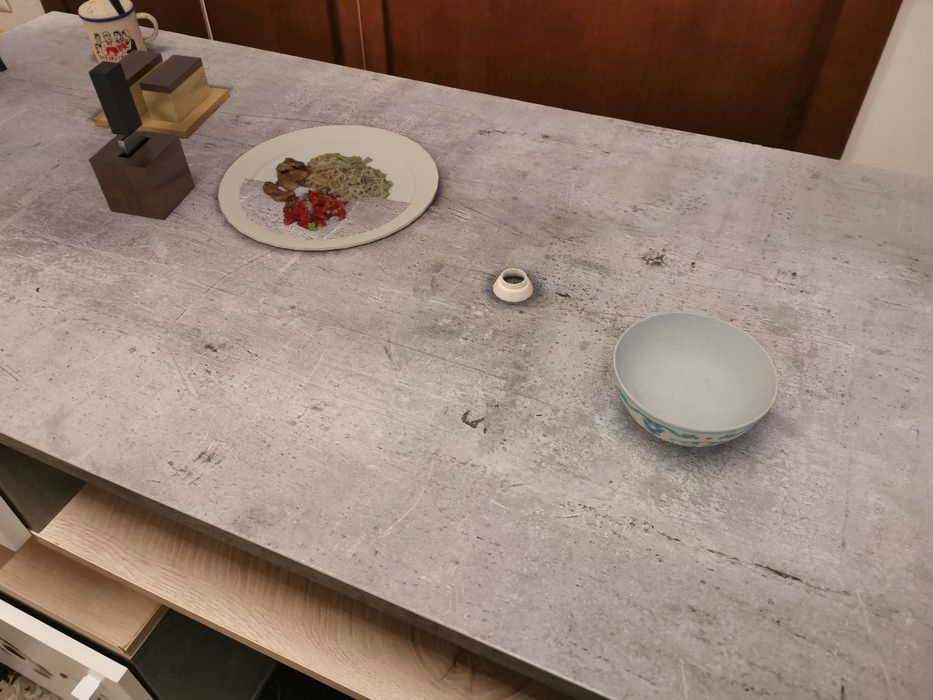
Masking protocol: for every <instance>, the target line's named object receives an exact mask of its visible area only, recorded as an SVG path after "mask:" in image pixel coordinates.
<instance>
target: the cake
mask: <svg viewBox="0 0 933 700" xmlns="http://www.w3.org/2000/svg"><path fill="white" fill-rule="evenodd" d="M117 63H121V65H122V68H123V71H124V74H125V77H126V79H127V82H128V85H129V88H130V91H131V93H132V96H133V99H134V102H135V105H136V107H137V110H138V113H139V116H140V119H141V121H142V124H143V125H142V126H141V128H142V131H149V132H156V133H163V134H171V135H178V136H179V139H180V138H181V139H188V138H189V137H190V136H191V135H192V134H193V133H194V132H196V130H197V129H198V128H199V127H200V126H201V125H202V124H203V123H205V121H206V120H207V119H208V118H209V117H210V116H211V115H213V113H214V112H215V111H216V110H217V109H218V108H219V107H220V106H221V105H222V104H223V103H224V102H226V100H227V99H228V98H229V97H230V92H229V90H228V89H226V88H221V87H220V88H219V87H210V85H209V81H208V79H207V78H208V77H207V73H206V71H205V67H204V63H203V60H202V57H200V56H199V57H198V56H191V55H181V54H172V55H171V56H170V57H169V58H167V59H166V60H165V61H164V59H163V55H162V53H161V52H155V51H149V50H147V51H139V50H133V51H132V52H130V53H129V54H128V55H126V56H125V57H124V58H123V59H121V60H120V61H119V62H117ZM92 121H93V123H94V125H95V126H96V127H102V128H108V129H110V126H109V123H108V121H107V118H106V116H105V113H104V111H103V110H102V111H100V112H99V113H98V114H97V115H96V116H95V117H93V118H92Z"/></svg>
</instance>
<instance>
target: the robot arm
mask: <svg viewBox="0 0 933 700" xmlns="http://www.w3.org/2000/svg"><path fill="white" fill-rule="evenodd" d="M109 1H110V3H111V4H112V6H113V7H114V9H115V10H116V12H117V13H118V14H119V16H121V15H123V14H126V12H125V10H124V8H123V7H122V5H121V3H120V1H119V0H109ZM7 70H8V67H7V65H6V64H5V62H4V61H3V58H2V57H1V56H0V73H3V72H5V71H7Z"/></svg>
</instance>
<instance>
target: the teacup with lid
mask: <svg viewBox="0 0 933 700" xmlns="http://www.w3.org/2000/svg"><path fill="white" fill-rule="evenodd" d="M119 1H120V3H121V5H122V7H123V8H124V10H125V12H126V14H123V15H121V16H119V14H118V13H117V12H116V10H115V9H114V7H113V6H112V4H111V3H110V1H109V0H88V1H85V2H83V3H82V4H81V5H80V6H79V8H78V17H79V18H80V19H81V21H82V24H83V26H84V30H85V31H86V34H87V37H88V39H89V42H90V44H91V48H92V50H93V53H94V56H95V58H96V61H97V63H98V64H100V63H101V62H102V61H108V62H116V63H117V62H119V61H120V60H121V59H123V58H124V57H125V56H126V55H128V54H129V53H130V52H132V51H133V50H139V51H148V50H147V46H146V44H149V43H152V42H153V41H155V40H156V39H157V37H158V34H159V24H158V21H157V19H156V18H155V17H154V16H153V15H151V13H147V12H137V13H136V12H135V5H134V4H133V2H132V1H131V0H119ZM140 19H146V20H149V21H150V22H151V23H152V25H153V28H154V29H153V33H152V34H151V35H149V36H147V37H144V36H143V34H142V30H141V27H140V24H139V21H138V20H140Z"/></svg>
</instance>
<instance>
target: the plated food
mask: <svg viewBox="0 0 933 700" xmlns="http://www.w3.org/2000/svg"><path fill="white" fill-rule="evenodd" d="M245 179H247V180H251V181H252V180H254V181H260V182H264V184H262V190H263V193H264V194H266V195H267V196H269V197H270V198H271V199H272V200H273V201H274V202H279V203H285V204H284V207H282V214H283V215H282V216H283V220H282V222H283V223H284V226H285V227H286V226H287V227H288V226H291V225H292V224H295V223H296V225H298V227H300V228H303V229H305V230H310V231H311V232H320V231H323V230H324V229H326V227H327V226H330V225H331V224H332V223H333V224H335V223H338V222H341V221H342V220H345V219H346V217H347V216H346V214H347V211H346V208H345V207H346V205H349V206H354V204H353V203H354V202H357V201H358V203H361V202H362V201H367V198H370V199H373V198H375V199H381V200H387V201H388V200H389V201H394V202H395V201H396V202H401V203H409V205H408V206H407V207H406V209H405V210H404V211H402V212H400V214H398V215H397V216H396V217H395V218H393V219H392V220H390V221H388V222H386V223H384V224H382V225H380V226H379V227H376V228H373V229H370V230H368V231H365V232H362V233H358V234H353V235H350V236H345V237H336V238H327V239H305V238H299V237H291V236H286V235H282V234H279V233H276V232H272V231H269V230H268V229H265V228H264V227H262V226H260V225H259V224H257V223H256V222H254V221H253V220H252V219H251V218H249V216H248V215H247V214H246V212H245V211H244V210H243V208H242V204H241V201H240V200H241V199H240V192H241V187H242V185H243V183H244V180H245ZM280 187H281V188H282V189H283V190H282V189H281V188H280ZM300 187H301V188H307V189H308V190H307V192H305V193H303V194H299V195H297V194H296V192H295V191H296V190H297V189H299V188H300ZM438 187H439V171H438V168H437V164H436V162H435V161H434V159H433V157H432V156H431V155H430V153H429V152H428V151H427V150H425V149H424V148H423V146H421V144H419V143H417V142H415V141H414V140H412V139H410V138H408V137H407V136H404V135H401V134H400V133H396V132H393V131H391V130H387V129H382V128H378V127H374V126H366V125H357V124H333V125H321V126H314V127H313V126H312V127H308V128H303V129H298V130H294V131H290V132H287V133H284V134H281V135H278V136H275V137H272V138H270V139H268V140H266V141H263V142H261V143H259V144H257V145H256V146H254V147H252V148H251V149H249V150H247V151H246V152H245V153H243V154H242V155H241V156H240V157H238V158H237V159H236V160H235V161H234V162H233V163H232V164H231V165H230V167H228V169H227V170H226V171H225V173H224V174H223V176H222V179H221V181H220V183H219V187H218V193H217V194H218V195H217V199H218V202H219V207H220V211H221V212H222V213H221V214H223V215H224V217H225V219H226V220H227V222H228V223H229V224H230V225H231V226H233V228H235V229H236V230H237V231H238V232H240V234H243V235H245V236H247V237H249V238H250V239H252V240H254V241H257V242H259V243H262V244H263V243H264V244H265V245H269V246H273V247H276V248H283V249H287V250H288V249H289V250H296V251H330V250H340V249H348V248H352V247H357V246H361V245H365V244H369V243H371V242H375V241H378V240H380V239H383V238H386V237H388V236H391V235H393V234H394V233H397V232H398V231H400V230H402V229H403V228H405V227H408V226H409V225H410V224H411V223H412V222H414V221H415V220H417V218H419V217H420V216H422V215H423V213H424V212H425V211H426V210H427V209H428V208H429V206H430V205H431V204H432V203H433V200H434V198H435V196H436V194H437V192H438ZM311 189H312V190H311ZM332 217H333V220H330V219H331V218H332Z"/></svg>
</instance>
